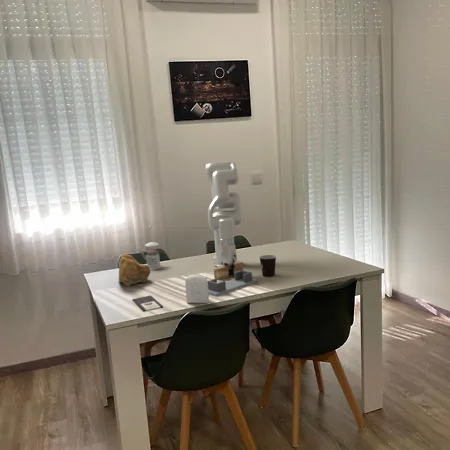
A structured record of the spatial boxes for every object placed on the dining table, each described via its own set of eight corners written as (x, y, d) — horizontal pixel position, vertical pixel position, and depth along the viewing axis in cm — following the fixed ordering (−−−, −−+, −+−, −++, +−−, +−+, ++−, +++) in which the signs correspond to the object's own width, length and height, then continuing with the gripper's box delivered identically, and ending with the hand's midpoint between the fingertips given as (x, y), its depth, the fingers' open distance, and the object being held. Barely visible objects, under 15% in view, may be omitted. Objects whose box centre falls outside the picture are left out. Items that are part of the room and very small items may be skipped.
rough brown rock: (151, 288, 235) (151, 259, 233) (118, 289, 231) (117, 260, 229) (148, 277, 257) (148, 251, 255) (118, 278, 253) (118, 252, 252)
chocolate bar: (150, 295, 219) (163, 306, 203) (150, 297, 219) (163, 308, 203) (132, 299, 215) (143, 310, 199) (132, 301, 215) (143, 312, 199)
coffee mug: (276, 277, 236) (275, 258, 234) (259, 277, 238) (258, 259, 236) (278, 271, 247) (277, 253, 245) (262, 271, 249) (261, 253, 247)
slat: (214, 279, 240) (213, 268, 239) (239, 271, 252) (238, 261, 251) (218, 280, 238) (217, 269, 237) (243, 272, 250) (242, 261, 249)
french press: (157, 269, 266) (153, 227, 262) (139, 269, 270) (135, 227, 265) (164, 265, 275) (161, 224, 271) (147, 264, 279) (143, 224, 275)
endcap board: (202, 292, 220) (201, 281, 219) (243, 278, 238) (243, 268, 237) (215, 296, 212) (215, 285, 212) (257, 281, 231) (257, 271, 230)
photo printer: (209, 300, 208) (208, 274, 206) (208, 303, 204) (206, 276, 202) (187, 300, 210) (185, 274, 207) (185, 303, 205) (183, 277, 203)
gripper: (211, 241, 245) (213, 274, 248) (232, 244, 233) (234, 279, 236) (221, 238, 250) (223, 271, 253) (242, 241, 238) (244, 276, 241)
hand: (229, 274), depth 245 cm, fingers closed on slat, 3 cm apart
